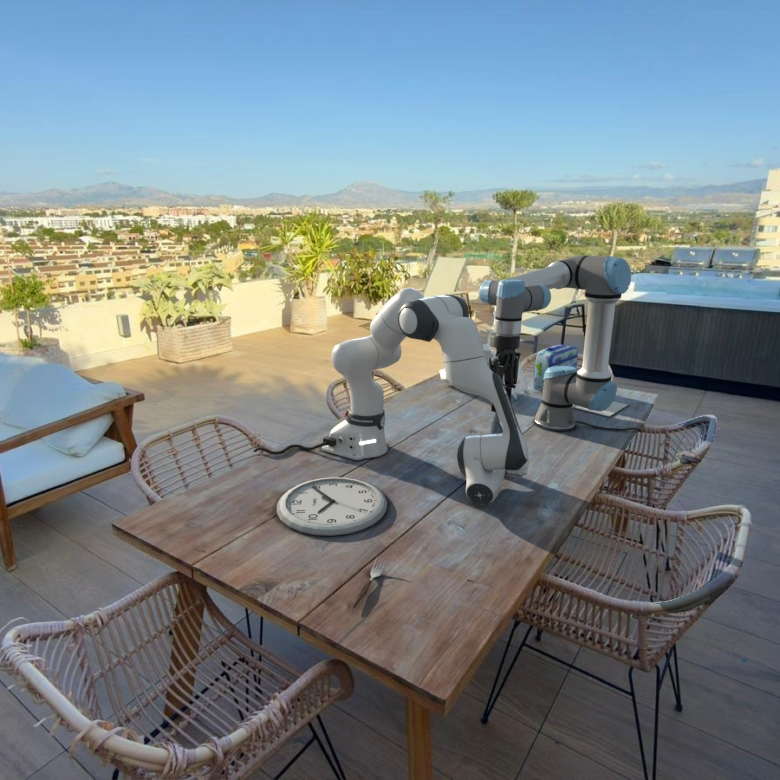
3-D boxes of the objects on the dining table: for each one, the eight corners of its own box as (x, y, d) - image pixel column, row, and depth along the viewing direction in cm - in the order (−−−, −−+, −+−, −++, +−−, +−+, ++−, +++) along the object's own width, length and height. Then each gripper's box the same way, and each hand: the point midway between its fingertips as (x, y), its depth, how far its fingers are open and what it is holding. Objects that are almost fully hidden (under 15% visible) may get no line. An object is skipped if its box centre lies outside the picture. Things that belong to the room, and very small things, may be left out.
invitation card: (608, 416, 214) (573, 407, 224) (608, 416, 214) (573, 408, 224) (628, 404, 229) (594, 396, 238) (628, 405, 229) (594, 397, 238)
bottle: (503, 468, 166) (509, 403, 160) (502, 475, 162) (508, 408, 155) (488, 466, 167) (493, 402, 161) (487, 473, 163) (492, 407, 156)
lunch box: (550, 397, 237) (555, 352, 231) (529, 391, 245) (533, 348, 238) (577, 386, 255) (582, 344, 249) (556, 381, 262) (561, 340, 256)
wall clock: (392, 527, 129) (268, 531, 127) (391, 533, 130) (269, 537, 127) (383, 473, 158) (282, 475, 155) (383, 478, 158) (282, 480, 156)
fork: (347, 608, 104) (347, 600, 103) (376, 563, 118) (376, 555, 118) (359, 612, 103) (359, 603, 103) (387, 565, 118) (387, 558, 117)
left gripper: (527, 466, 147) (532, 447, 159) (456, 454, 153) (466, 437, 166) (525, 486, 149) (530, 466, 161) (455, 474, 155) (465, 456, 168)
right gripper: (512, 328, 160) (506, 400, 167) (478, 336, 148) (473, 413, 155) (534, 332, 155) (526, 406, 162) (501, 340, 143) (494, 420, 150)
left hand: (497, 451), depth 164 cm, fingers closed on bottle, 5 cm apart
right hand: (500, 409), depth 159 cm, fingers closed on cap, 5 cm apart
